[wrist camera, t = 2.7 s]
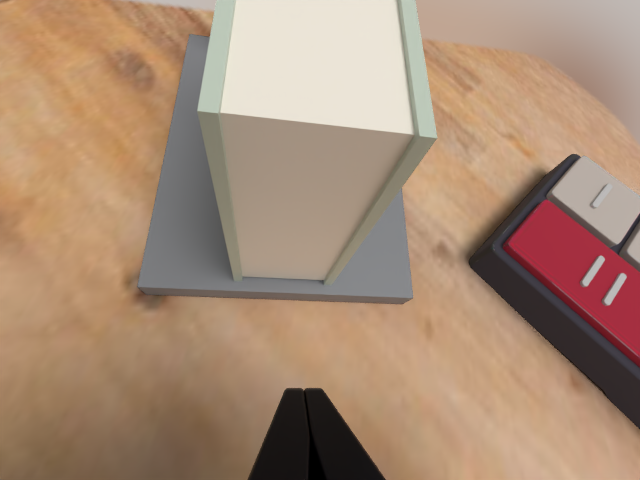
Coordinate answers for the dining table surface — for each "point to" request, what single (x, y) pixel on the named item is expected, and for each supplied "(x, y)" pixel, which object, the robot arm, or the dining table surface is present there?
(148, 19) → the dining table surface
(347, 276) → the shelf board
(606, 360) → the calculator
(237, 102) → the book
